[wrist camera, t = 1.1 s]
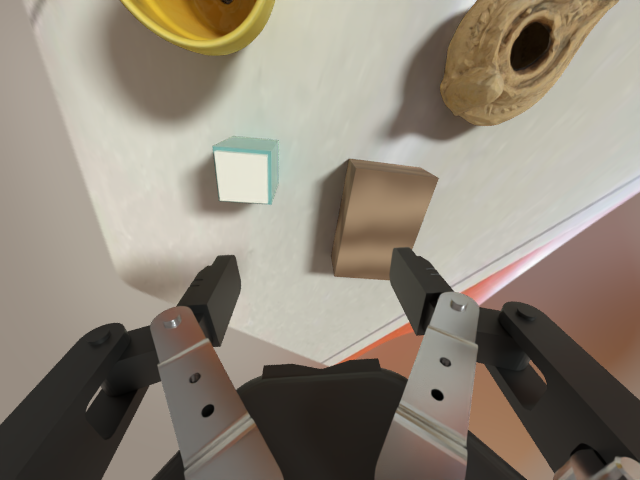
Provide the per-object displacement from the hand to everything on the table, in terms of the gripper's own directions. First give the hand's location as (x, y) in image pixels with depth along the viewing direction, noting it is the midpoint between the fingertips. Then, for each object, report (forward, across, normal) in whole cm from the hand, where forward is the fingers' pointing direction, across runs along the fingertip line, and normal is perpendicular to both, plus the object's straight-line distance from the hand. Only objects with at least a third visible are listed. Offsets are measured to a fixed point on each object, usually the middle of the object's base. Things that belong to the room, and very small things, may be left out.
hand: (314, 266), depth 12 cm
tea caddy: (+19, +6, -2) cm, 20 cm away
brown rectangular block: (+20, -8, +6) cm, 22 cm away
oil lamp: (+19, -19, -12) cm, 30 cm away
